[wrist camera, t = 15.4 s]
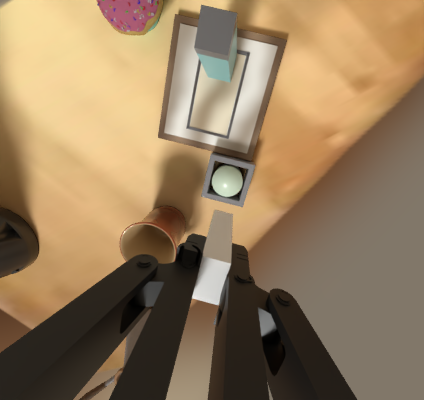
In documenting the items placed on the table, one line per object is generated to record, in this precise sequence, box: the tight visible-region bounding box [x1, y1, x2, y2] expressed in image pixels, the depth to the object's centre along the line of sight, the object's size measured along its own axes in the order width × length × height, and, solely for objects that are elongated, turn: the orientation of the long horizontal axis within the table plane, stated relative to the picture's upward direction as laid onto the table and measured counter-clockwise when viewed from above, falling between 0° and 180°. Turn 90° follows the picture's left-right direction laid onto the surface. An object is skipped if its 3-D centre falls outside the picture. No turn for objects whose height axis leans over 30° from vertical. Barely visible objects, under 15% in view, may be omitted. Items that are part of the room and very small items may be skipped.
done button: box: [212, 164, 243, 197], centre depth 34 cm, size 5×5×4 cm
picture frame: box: [158, 14, 287, 161], centre depth 31 cm, size 16×17×1 cm
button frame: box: [201, 152, 255, 207], centre depth 34 cm, size 7×7×4 cm
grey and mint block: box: [194, 5, 237, 82], centre depth 24 cm, size 3×3×11 cm
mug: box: [120, 206, 186, 264], centre depth 35 cm, size 12×9×10 cm
